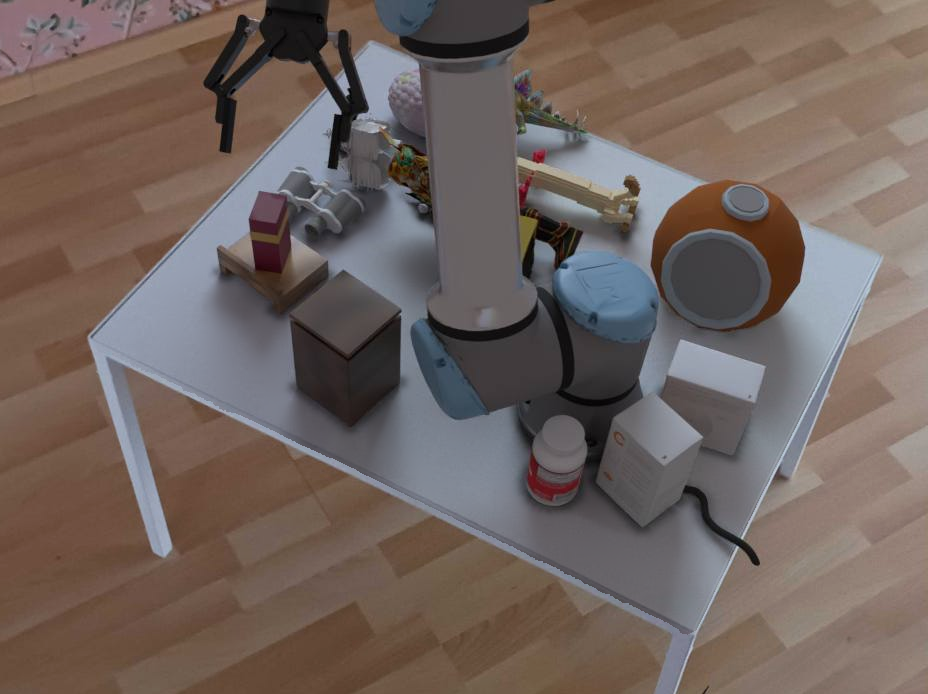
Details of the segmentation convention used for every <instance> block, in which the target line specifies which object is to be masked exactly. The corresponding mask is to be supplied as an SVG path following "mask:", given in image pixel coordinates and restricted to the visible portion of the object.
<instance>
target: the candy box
mask: <svg viewBox="0 0 928 694" xmlns="http://www.w3.org/2000/svg"><path fill="white" fill-rule="evenodd" d="M275 193H276V192H275ZM275 193H274V192H268V191H263V190H259V191H258V193H257V196H256V198H255V201H254V204H253V206H252V209H251V211H250V214H249V217H248V225H249V232H250V238H251V242H252V249H253V257H254V264H255V269H256V270H262V271H268V272H274V273H280V274H282V271H283V268H284V266H285V263H286V260H287V257H288V254H289V251H290V248H291V237H290V235H291V230H290V229H291V226H290V222H289V209H288V204H287V195H282V194H275Z"/></svg>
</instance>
